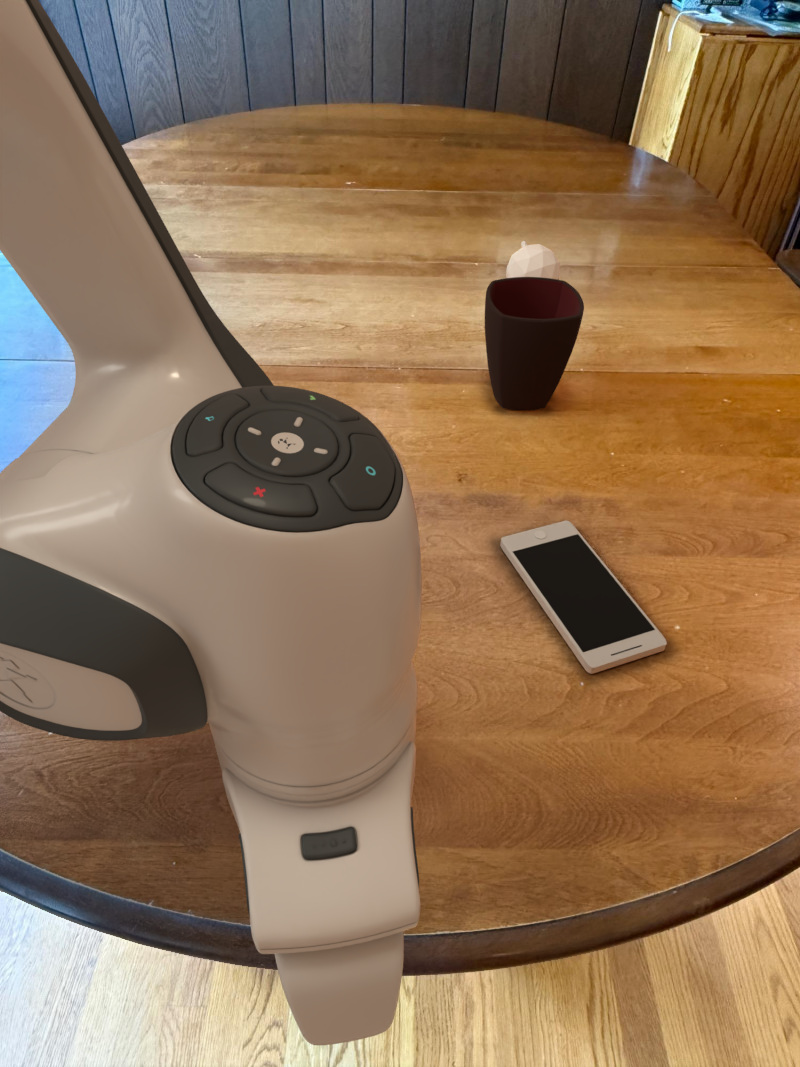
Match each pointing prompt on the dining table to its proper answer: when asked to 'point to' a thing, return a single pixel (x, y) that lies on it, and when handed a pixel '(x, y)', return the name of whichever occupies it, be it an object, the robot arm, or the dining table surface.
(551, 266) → the ornament
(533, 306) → the cup
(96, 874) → the dining table surface
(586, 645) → the smartphone
